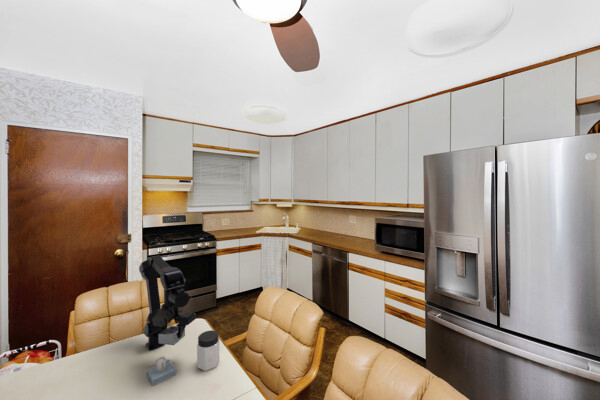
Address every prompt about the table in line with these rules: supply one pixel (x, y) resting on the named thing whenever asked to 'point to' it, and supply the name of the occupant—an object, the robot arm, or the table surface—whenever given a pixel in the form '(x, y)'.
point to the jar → (208, 350)
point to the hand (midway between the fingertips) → (172, 337)
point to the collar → (170, 335)
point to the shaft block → (161, 371)
